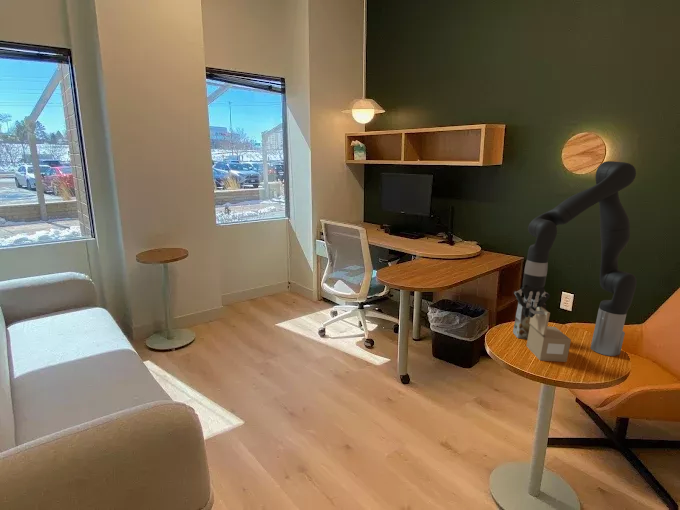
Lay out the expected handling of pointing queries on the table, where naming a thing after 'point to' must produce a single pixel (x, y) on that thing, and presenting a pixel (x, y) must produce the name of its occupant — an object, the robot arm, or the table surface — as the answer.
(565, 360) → the carton
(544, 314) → the flap
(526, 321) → the coffee box
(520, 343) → the table surface
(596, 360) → the table surface
